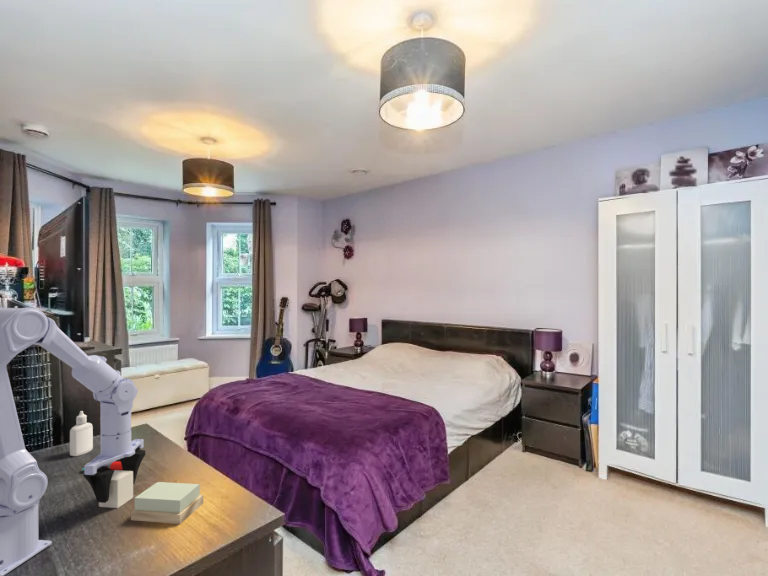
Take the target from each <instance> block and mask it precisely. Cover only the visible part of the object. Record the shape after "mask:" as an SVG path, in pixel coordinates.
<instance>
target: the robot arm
mask: <svg viewBox="0 0 768 576" xmlns="http://www.w3.org/2000/svg"><path fill="white" fill-rule="evenodd" d="M32 345H36V346H40V347H41V348H42V349H44V350H45V351H47V352H49V353H50V354H52V355H53V356H54V357H56V358H57V359H59V360H60V361H62V362H63V363H64V364H66V365H68V366H69V367H70V368H71V376H72V378H73V379H74V380H76V381H77V382H79V383H80V384H81V385H83V386H84V387H85V388H86V389H87V390H90V391H91V392H92V397H93V399H94V400H95V401H98V402H100V405H99V406H100V408H99V410H100V413H99V414H100V423H99V424H100V426H99V427H100V453H99V454H97V456H95V457H94V458H93V459H92V460H91V461H90V462H87V463H88V464H86V465H85V464H84V465H83V466H84V467H83V468H84V470H83V478H84V479H85V480H86V481H87V482H88V483H89V484H90V485H89V486H91V488H92V491H93V493H94V496H95V499H96V502H97V503H99V502H101V503H106V502H107V501H108V499H109V490H110V482H111V478H112V475H113V473H114V470H111V469H109V470H107V468H106V466H107V465H109V464H111V463H113V462H115V461H116V460H118V459H120V461H121V465H122V469H123V471H133V485H135V483H136V479H137V475H138V471H139V469H140V466H141V463H142V461H143V459H144V458H145V456H146V450H145V449H144V446H145V445H144V438H141V439H139V438H135V439H133V440H132V409H133V408H134V401H135V398H136V397H137V395H138V391H139V390H138V389H139V388H137V387H136V384H135V382H134V381H133V380H132V379H131V378H127V377H122V375H121V373H122V372H120V371H119V370H117V369H115V368H113V367H111V365H109V364H108V363H107V359H108V358H106V357H105V356H101V355H97V354H93V355H87V353H86V352H84V350H83V349H81V347H80V346H78V345H77V344H76V343H75V342H74V341H73V340H72V339H71V338H70V337H69V336H68V335H66V333H64V332H63V331H62V329H60V328H59V327H58V325H57V323H56V321H55V320H54V319H52V318H51V317H48V316H46V314H45V313H44V312H43V311H42V310H40V309H38V308H35V307H22V308H21V307H20V308H19V307H4V306H0V576H6V575H7V574H8V573H10V572H11V571H13V570H14V569H16V568H17V567H19V566H21V565H22V564H23V563H25V562H27V561H28V560H30V559H31V558H33V557H34V556H36V555H37V554H38V553H40V552H41V551H43V550H45V549H46V548H48V547H49V546H51V545H52V541H51V540H45V539H39V504H40V500H41V499H42V497H43V496H44V494H45V493H46V491H47V487H48V484H49V482H48V481H49V480H48V476H47V475H46V474H45V473H44V472H43V471H42V470H41V469H40V468H39V466H38V461H37V460H36V458H34V456H33V455H32V454H31V453H30V452H29V451H28V450H27V449H26V445H25V441H24V437H23V433H22V430H21V428H22V427H21V424H20V421H19V416H18V412H17V407H16V403H15V398H14V394H13V390H12V386H11V382H10V377H9V373H8V368H7V365H8V364H9V363H10V362H11V361H12V360H13V359H14V358H15V357H16V356H17V355H18V354H20V353H21V352H23V351H25V350H26V349H28V348H29V347H31V346H32Z"/></svg>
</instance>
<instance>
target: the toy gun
mask: <svg viewBox="0 0 768 576" xmlns="http://www.w3.org/2000/svg"><path fill="white" fill-rule="evenodd" d="M88 463H89V462H86V463H85V464H84V465H86V464H88ZM106 468H107V470H122V471H123V469H122V465H121V461H120V459H118V460H116V461H115V462H113V463H111V464H109V465H107V466H106ZM81 470H82V471H84V467H83V468H82V469H81Z"/></svg>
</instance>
